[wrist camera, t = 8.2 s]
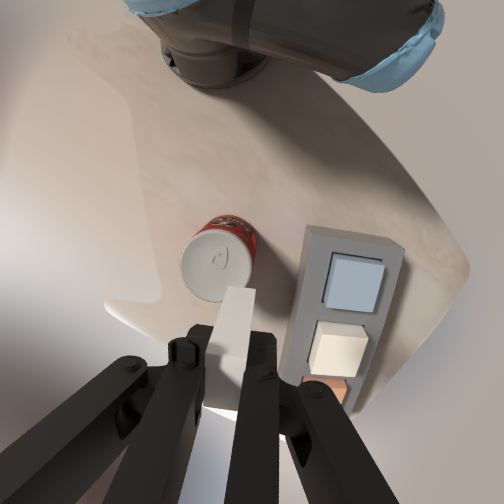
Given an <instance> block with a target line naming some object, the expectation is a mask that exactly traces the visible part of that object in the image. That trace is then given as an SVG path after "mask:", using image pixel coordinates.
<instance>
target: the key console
mask: <svg viewBox="0 0 504 504" xmlns="http://www.w3.org/2000/svg"><path fill="white" fill-rule="evenodd" d="M332 252H338V253H344V254H351V255H358V256H364V257H371V258H377V259H378V260H379V261H380V262H381V263H382V264H383V265H385V268H384V272H383V276H382V280H381V284H380V287H379V291H378V295H377V298H376V302H375V306H374V309H373V312H363V311H354V310H345V309H336V308H328V307H326V306H325V303H324V300H323V297H322V296H323V292H324V287H325V283H326V278H327V273H328V269H329V264H330V259H331V254H332ZM404 252H405V249H404V248H403V247H401V246H400V245H398V244H397V243H395V242H394V241H392V240H391V239H389V238H385V237H379V236H374V235H368V234H362V233H356V232H350V231H344V230H338V229H331V228H325V227H319V226H312V225H306V231H305V237H304V243H303V248H302V254H301V260H300V265H299V271H298V276H297V281H296V287H295V292H294V297H293V302H292V307H291V312H290V317H289V322H288V327H287V332H286V337H285V341H284V346H283V351H282V355H281V360H280V364H279V369H278V375H279V377H280V378H281V379H282V380H283V381H285V382H286V383H289V384H291V385H294V386H299V384H300V383H301V380H302V376H306V377H317V378H330V379H344V380H345V384H346V387H347V390H346V393H345V396H344V398H343V401H342V403H341V405H342V407H343V409H344V411H345V412H346V414H347V416H348V417H350V414H351V412H352V410H353V407H354V405H355V403H356V400H357V398H358V395H359V393H360V390H361V388H362V385H363V383H364V380H365V378H366V375H367V373H368V370H369V367H370V365H371V362H372V359H373V356H374V354H375V351H376V348H377V345H378V342H379V339H380V336H381V333H382V330H383V327H384V324H385V321H386V318H387V314H388V311H389V308H390V304H391V301H392V298H393V294H394V291H395V287H396V283H397V280H398V276H399V272H400V268H401V264H402V260H403V256H404ZM317 320H320V321H329V322H338V323H348V324H358V325H362V327H363V329H364V331H365V333H366V335H367V337H368V341H367V344H366V347H365V350H364V353H363V356H362V359H361V362H360V365H359V368H358V370H357V373H356V376H355V377H345V376H330V375H317V374H311V371H310V365H309V359H308V354H309V350H310V346H311V342H312V338H313V334H314V330H315V326H316V322H317Z"/></svg>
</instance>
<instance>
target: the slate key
mask: <svg viewBox="0 0 504 504" xmlns="http://www.w3.org/2000/svg"><path fill="white" fill-rule="evenodd" d="M384 268H385V265H383V264H382V263H381V262H380V261H379V260H378V259H377V258H371V257H364V256H358V255H351V254H344V253H338V252H332V254H331V259H330V264H329V269H328V273H327V278H326V283H325V287H324V292H323V296H322V297H323V300H324V303H325V306H326V307H328V308H336V309H345V310H354V311H363V312H373V309H374V306H375V302H376V298H377V295H378V291H379V287H380V284H381V280H382V276H383V272H384Z"/></svg>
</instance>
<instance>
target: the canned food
mask: <svg viewBox="0 0 504 504" xmlns="http://www.w3.org/2000/svg"><path fill="white" fill-rule="evenodd" d="M255 251H256V237H255V234H254V232H253V230H252V228H251V226H250V225H249V224H248V223H247V222H246V221H245V220H243V219H241V218H239V217H237V216H233V215H222V216H219V217H216V218H214V219H213V220H211V221H210V222H209V223H208V224H207V225H205V226H204V227H203V228H202V229H201V230H200V231H199V232H198V233H197V234H196V235H194V236H193V237H192V238H191V239H190V240H189V242H188V243H187V244H186V246H185V248H184V250H183V252H182V254H181V258H180V273H181V277H182V280H183V282H184V284H185V285H186V287H187V288H188V289H189V291H190V292H191V293H192V294H194V295H195V296H196V297H198V298H200V299H202V300H205V301H208V302H215V303H217V302H223V300H224V297H225V294H226V291H227V288H228V286H235V287H243V288H245V287H246V285H247V283H248V282H249V280H250V277H251V273H252V269H253V263H254V257H255Z"/></svg>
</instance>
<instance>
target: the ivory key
mask: <svg viewBox="0 0 504 504" xmlns="http://www.w3.org/2000/svg"><path fill="white" fill-rule="evenodd" d="M367 341H368V337H367V335H366V333H365V331H364V329H363V327H362V325H358V324H348V323H338V322H329V321H320V320H317V322H316V326H315V330H314V334H313V338H312V342H311V346H310V350H309V354H308V359H309V365H310V371H311V374H317V375H330V376H345V377H355V376H356V373H357V370H358V368H359V365H360V362H361V359H362V356H363V353H364V350H365V347H366V344H367Z"/></svg>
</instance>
